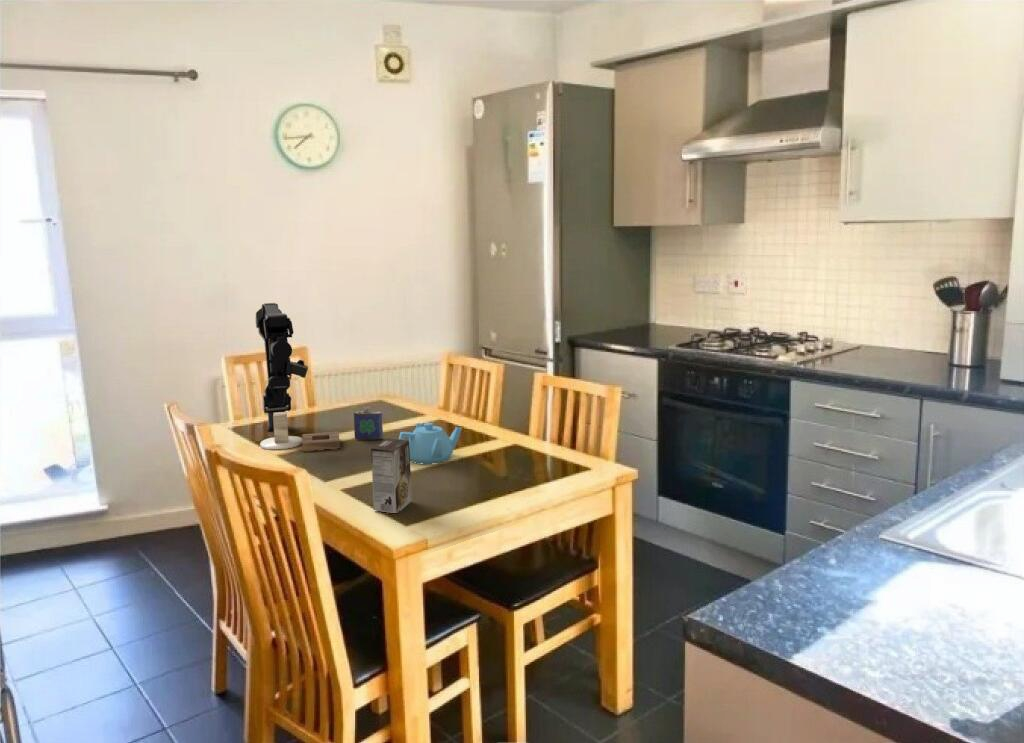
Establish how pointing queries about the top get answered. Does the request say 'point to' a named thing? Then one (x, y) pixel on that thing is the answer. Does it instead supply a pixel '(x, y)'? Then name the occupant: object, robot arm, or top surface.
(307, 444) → the holder
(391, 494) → the coffee box
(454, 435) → the teapot
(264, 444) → the plate
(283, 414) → the block
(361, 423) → the flask
